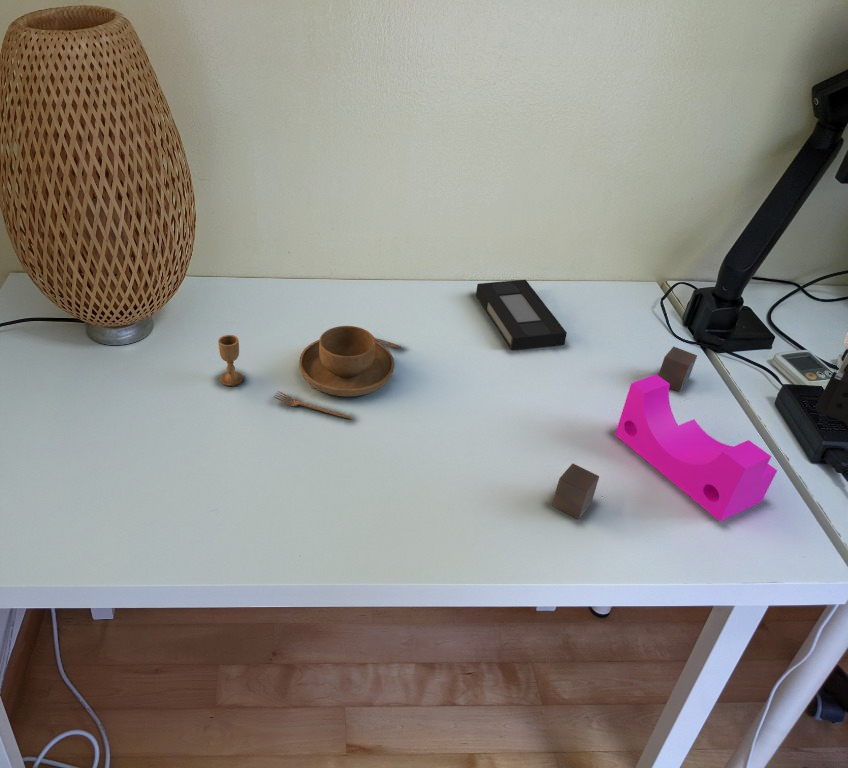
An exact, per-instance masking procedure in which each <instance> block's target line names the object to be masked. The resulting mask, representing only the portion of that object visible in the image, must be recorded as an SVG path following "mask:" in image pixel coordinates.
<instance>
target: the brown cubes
mask: <svg viewBox="0 0 848 768" xmlns="http://www.w3.org/2000/svg"><path fill="white" fill-rule="evenodd" d="M697 358H698V354H695V353H693V352H689V351H688V350H684V349H682V348H680V347H677V346H672V347H671V348H670V350H669V351H668V352H667V353H666V354H665V356H664V357H663V361H662V362H661V366H660V368H659V372H658V374H657V375H658V376H660V377H661V378H662V379H664V380H665V381H667V382H668V383H669V384H670V387H669V389H671V390H673V391H676V392H679V393H680V392H681V391H682V389H683V388H684V387H685V385H686V384H687V383H688V382H689V380H690V377H691V374H692V372H693V369H694V366H695V364H696V361H697ZM599 480H600V475H598V474H596V473H594V472H592V471H590V470H587V469H586V468H584V467H582V466H579V465H578V464H576V463H574V462H573V463H571V464H570V465H569V466H568V468H567V469H566V470H565V471H564V472H563V474H562V475H561V476H560V477H559V479H558V482H557V486H556V490H555V492H554V493H555V494H554V496H553V501H552V505H551V506H552V507H553V508H555V509H557V510H559V511H561V512H563V513H565V514H566V515H568V516H571V517H573V518H574V519H576V520H580V519H581V517H582V516H583V515H584V513H585V512H586V511H587V510H588V508H589V507H590V506H591V505H592V502H593V499H594V496H595V492H596V490H597V486H598V483H599Z"/></svg>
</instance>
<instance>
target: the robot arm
mask: <svg viewBox="0 0 848 768" xmlns="http://www.w3.org/2000/svg"><path fill="white" fill-rule="evenodd" d="M842 344H843V346H844V348H845V350H844V352H843V354H842V356H841V358H840V359H841V361H842V362H841V364H840V366H839V368H838V370H837V371H833V373H832V374H831V376H830V378H829V380H828V382H827V384H826V385H825V388H824V389H823V391H822V394H821V396H820V398H819V399H818V401H817V403H816V405H815V411H816V412H818V413H820V414H823V415H826V416H828V417H831V418H833V419H836V420H838V421H841V422H844V423H846V424H848V329H847V331H846V334H845V336H844V340H843V342H842Z"/></svg>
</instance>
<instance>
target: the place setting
mask: <svg viewBox="0 0 848 768" xmlns="http://www.w3.org/2000/svg"><path fill="white" fill-rule="evenodd" d="M217 343H218V351H219V352H218V353H219V356H220V358H221V360H223V361H224V362H226V364H227V365H226V369H225V370H226V372H224V373H223V374H222V375H220V378H219V381H220V383H221V384H222V385H224V386H227V387H235V386H238V385H240V384H241V383H242V382H243V380H244V376H243V374H242V373H240V372H239V371H236V366H235V365H234V362H235V361H236V360H237V359H238V358H239V356H240V341H239V338H238V337H237V336H236V335H234V334H226V335H222V336H221V337H219V339H218V342H217ZM383 344H384V345H383ZM385 345H386V346H389V347H393V348H398V349H402V346H401V345H399V344H397V343H394V342H390V341H387V340H384V339H380V338H377V337H375V336H374V335H373V334H372V333H370V332H369V331H368V330H366V329H364V328H362V327H359V326H354V325H340V326H334V327H332V328H331V327H330V328H329V329H327V330H325V331H324V332H322V334H321V335H320V336H319V339H317V340H315V341H313V342H312V343H310V344H308V345H307V346H306V347H305V348H304V349H303V350H302V352H301V353H300V356H299V361H298V362H299V363H298V364H299V370H300V373H301V375H302V377H303V379H304V380H305V381H306V382H307V384H309V385H310V386H312V387H313V388H314V389H316V390H318V391H320V392H323V393H326V394H329V395H331V396H338V397H359V396H365V395H368V394H371V393H373V392H376V391H377V390H379V389H381V388H382V387H384V386H385V385H386V384H387V383H388V382H389V380H390V379H391V378H392V375H393V374H394V369H395V359H394V356H393V354H392V352H391V351H390V350H389V349H388V348H387V347H386V346H385ZM272 397H273V398H274V399H276V400H278V401H280V402H282V403H284V404H286V405H288V406H291V407H297V406H303V407H305V408H306V407H307V408H309V409H312V410H317V411H320V412H323V413H326V414H330V415H332V416H336V417H338V418H344V419H349V420H350V419H351V418H352V416H350V415H347V414H344V413H340V412H339V411H335V410H331V409H329V408H328V409H327V408H324V407H320V406H317V405H314V404H310V403H306V402H303V401H299V400H298V399H296V398H293V397H291V396H290V395H287V394H285V393H284V392H282V391H279V390H277V392H276V394H275V395H273V396H272Z"/></svg>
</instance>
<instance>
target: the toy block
mask: <svg viewBox="0 0 848 768" xmlns="http://www.w3.org/2000/svg"><path fill="white" fill-rule="evenodd" d="M658 375H659V374H657V373H655V374H652V375H649V376H647V377H644V378H641V379H638V380H636V381H633V382H631V383H630V385H629V388H628V392H627V395H626V399H625V401H624V404H623V408H622V411H621V414H620V417H619V420H618V423H617V427H616V430H615V433H614V435H615V436H616V437H617V438H618V439H620V440H621V441H622V442H623V443H624V444H625V445H627V447H629V448H630V449H631V450H632V451H634V452H635V453H636V454H637V455H639V456H640V457H641V458H642V459H644V460H645V461H646V462H648V463H649V464H650V465H651V466H652V467H653V468H655V469H656V470H657V471H658V472H659V473H661V475H663V476H664V477H666V479H668V480H669V481H670V482H672V483H673V484H674V485H675V486H677V487H678V488H679V489H680V490H681V491H682V492H684V493H685V494H686V495H687V496H689V497H690V498H691V499H692V500H693V501H694V502H696V503H697V504H698V505H699V506H701V507H702V508H703V509H704V510H706V512H708V513H709V514H710V515H712V516H713V517H714V518H715V519H716V520H718V521H719V522H723V521H724V520H726V519H728V518H731V517H733V516H735V515H737V514H739V513H741V512H743V511H745V510H747V509H749V508H752V507H753V506H756V505H758V504H760V503H762V502H763V500H764V499H765V496H766V494H767V492H768V490H769V488H770V486H771V485H772V482H773V480H774V479H775V476H776V474H777V472H778V469H776V467H774V466H772V465H771V464H770V463H769V462H770V460H771V458H772V455H771V454H770V453H768V452H766V451H765V450H764V449H762V448H761V447H759V446H758V445H757V444H755V443H754V442H752V441H751V440H749V439H747V440H745V441H743V442H740V443H738V444H736V445H729V444H725V443H723V442H721V441H718V440H716V439H715V438H713V437H712V436H711V435H709V434H708V433H707V432H706V431H705V430H704V429H703V428H702V426H700V425H699V424H698V422H697V421H696V419H695V418H693V419H690V420H688V421H686V422H683V423H681V424H678V423H677V420H676V418H675V416H674V413H673V410H672V408H671V403H670V388H669V387H670V384H669V383H668V382H667V381H665V380H664V379H662V378H661V377H660V376H658Z"/></svg>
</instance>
